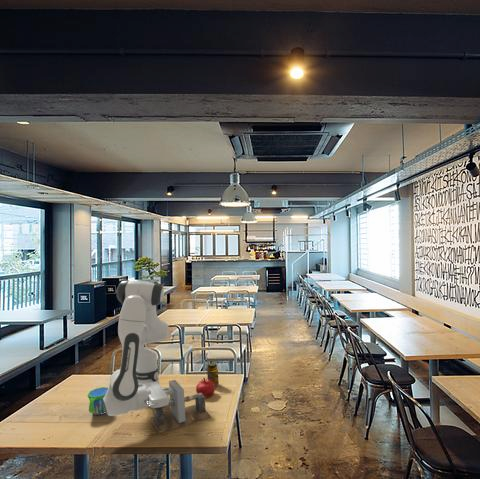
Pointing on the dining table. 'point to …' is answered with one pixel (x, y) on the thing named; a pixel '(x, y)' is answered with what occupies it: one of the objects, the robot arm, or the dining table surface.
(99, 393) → the snack cup
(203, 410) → the pipe rig
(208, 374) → the condiment
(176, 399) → the grey slab
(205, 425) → the dining table surface
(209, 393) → the pomegranate
